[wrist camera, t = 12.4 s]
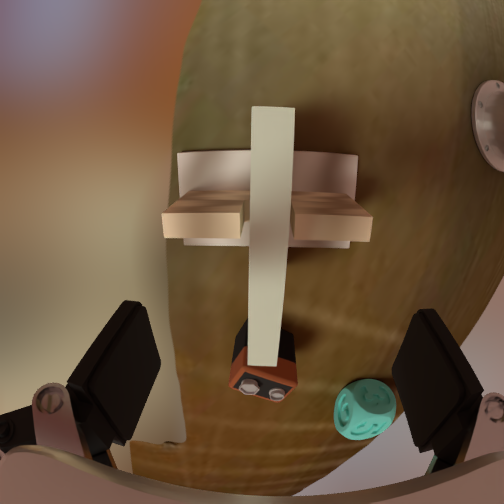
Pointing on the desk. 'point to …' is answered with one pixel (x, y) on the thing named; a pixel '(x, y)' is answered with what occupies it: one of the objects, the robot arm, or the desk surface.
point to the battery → (264, 369)
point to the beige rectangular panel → (268, 228)
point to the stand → (238, 200)
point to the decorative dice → (364, 409)
